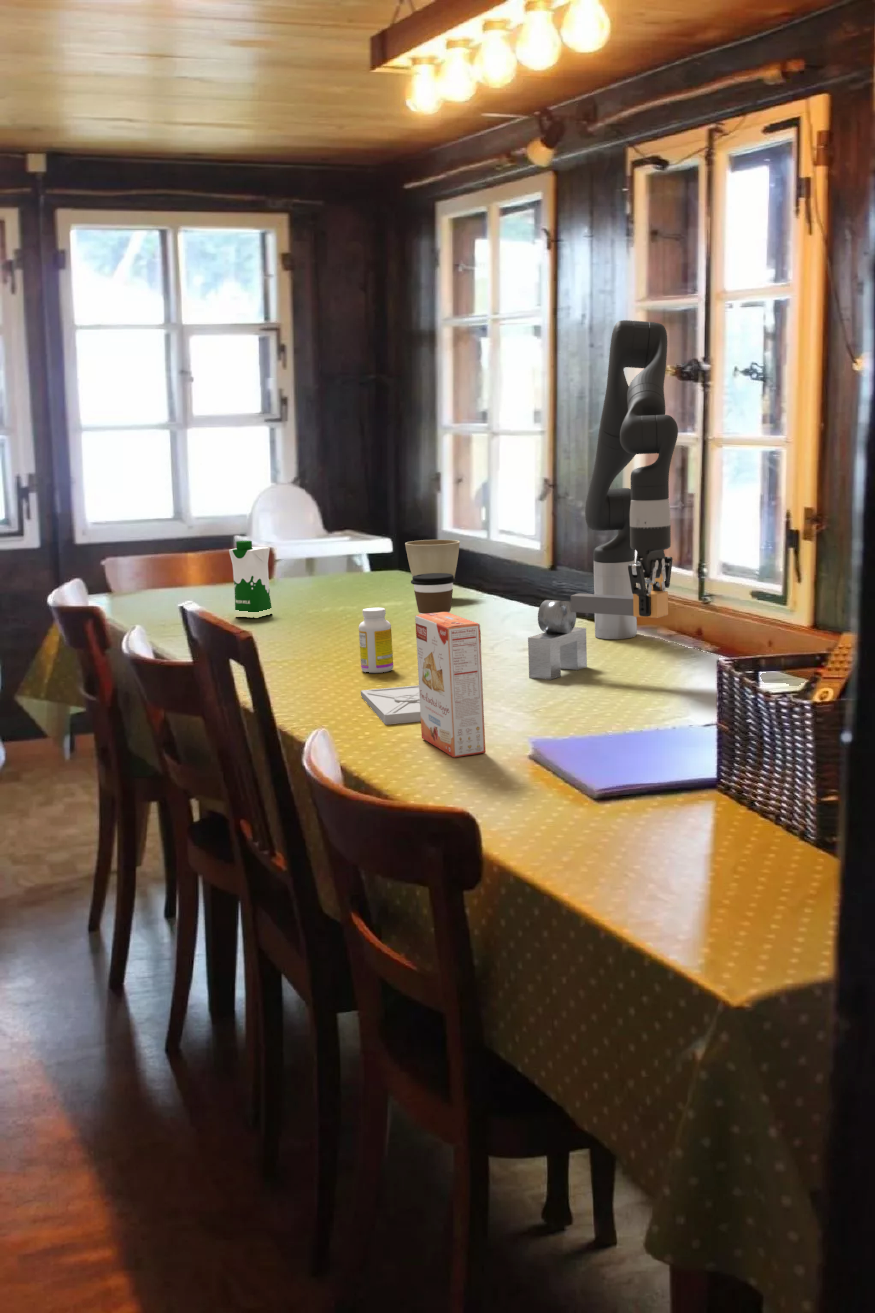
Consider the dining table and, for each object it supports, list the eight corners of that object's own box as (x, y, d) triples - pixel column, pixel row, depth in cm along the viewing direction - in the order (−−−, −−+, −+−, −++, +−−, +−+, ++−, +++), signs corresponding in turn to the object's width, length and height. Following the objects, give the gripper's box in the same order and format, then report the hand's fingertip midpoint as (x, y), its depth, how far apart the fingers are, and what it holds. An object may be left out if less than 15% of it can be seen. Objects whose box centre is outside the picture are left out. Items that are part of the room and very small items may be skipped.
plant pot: (462, 602, 373) (459, 543, 370) (406, 605, 374) (404, 545, 371) (461, 594, 388) (459, 538, 385) (408, 596, 388) (406, 540, 385)
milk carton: (230, 618, 364) (224, 542, 360) (252, 612, 371) (247, 538, 368) (256, 619, 359) (251, 542, 355) (278, 614, 367) (273, 538, 363)
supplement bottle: (398, 667, 288) (395, 606, 286) (386, 674, 282) (383, 611, 280) (368, 667, 290) (365, 606, 288) (356, 673, 284) (352, 611, 282)
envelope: (431, 694, 265) (361, 700, 262) (431, 682, 265) (360, 689, 262) (462, 718, 242) (385, 726, 239) (462, 706, 242) (384, 713, 239)
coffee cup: (405, 627, 338) (403, 578, 336) (423, 620, 348) (420, 572, 346) (447, 628, 334) (445, 578, 332) (463, 621, 344) (461, 572, 341)
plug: (569, 612, 270) (568, 589, 270) (580, 608, 274) (580, 586, 273) (657, 617, 259) (657, 594, 259) (668, 614, 263) (667, 591, 262)
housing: (565, 664, 284) (563, 595, 281) (586, 666, 281) (585, 596, 278) (529, 677, 273) (527, 605, 270) (550, 679, 270) (549, 606, 267)
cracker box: (419, 739, 228) (413, 613, 224) (453, 735, 230) (448, 610, 226) (451, 759, 215) (445, 625, 211) (486, 754, 217) (482, 622, 213)
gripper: (650, 527, 251) (651, 621, 255) (685, 520, 263) (686, 609, 266) (613, 527, 256) (615, 618, 259) (649, 519, 267) (651, 607, 270)
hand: (651, 613), depth 262 cm, fingers closed on plug, 4 cm apart
